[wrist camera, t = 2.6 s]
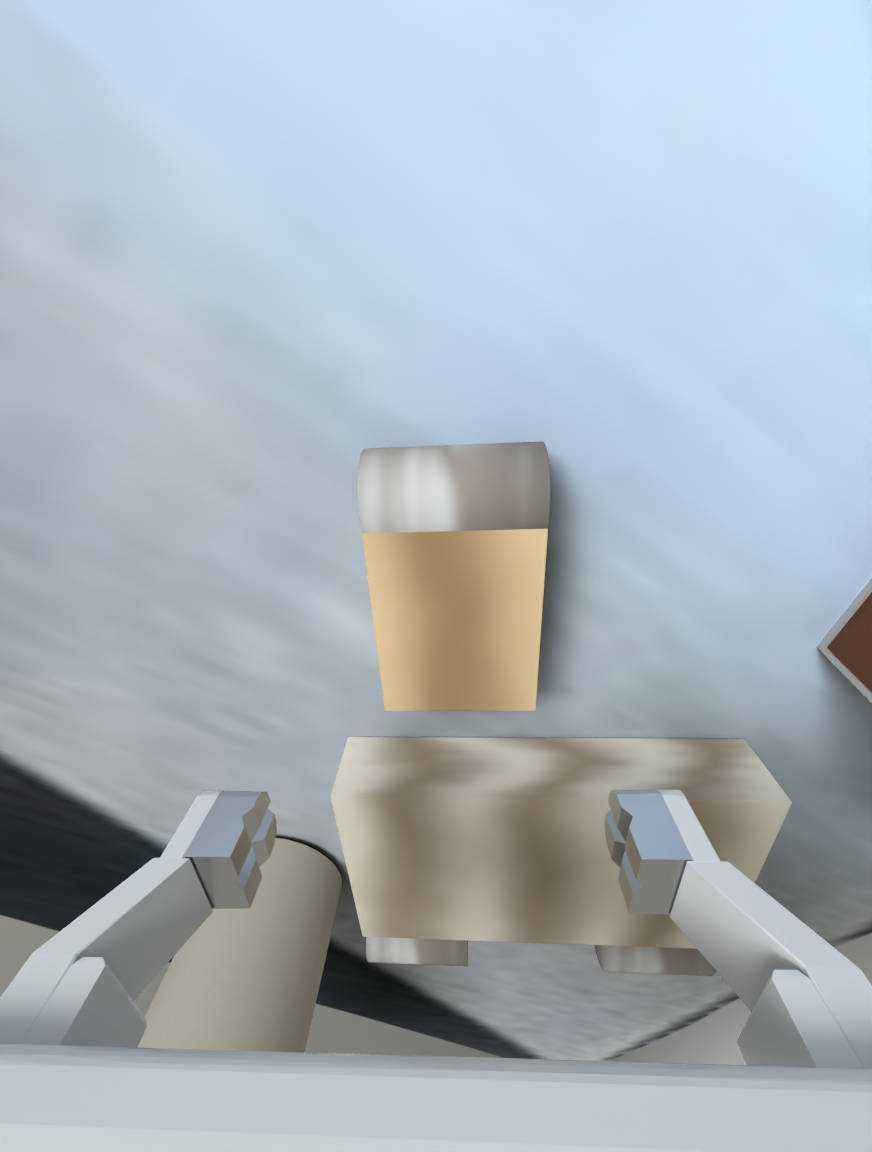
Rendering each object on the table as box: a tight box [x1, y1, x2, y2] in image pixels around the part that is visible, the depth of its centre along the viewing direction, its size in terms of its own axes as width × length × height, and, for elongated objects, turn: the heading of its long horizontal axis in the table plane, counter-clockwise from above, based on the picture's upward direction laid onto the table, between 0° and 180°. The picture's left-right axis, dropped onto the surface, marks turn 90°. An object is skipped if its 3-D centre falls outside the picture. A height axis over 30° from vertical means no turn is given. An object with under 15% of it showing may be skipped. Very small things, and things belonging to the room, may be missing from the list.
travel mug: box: [138, 838, 342, 1052], centre depth 21 cm, size 8×8×18 cm
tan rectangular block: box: [357, 442, 550, 711], centre depth 17 cm, size 6×10×4 cm, turn 3°
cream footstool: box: [331, 737, 792, 976], centre depth 24 cm, size 20×16×4 cm
